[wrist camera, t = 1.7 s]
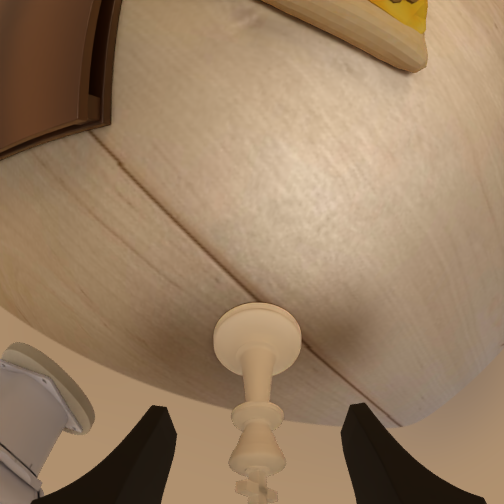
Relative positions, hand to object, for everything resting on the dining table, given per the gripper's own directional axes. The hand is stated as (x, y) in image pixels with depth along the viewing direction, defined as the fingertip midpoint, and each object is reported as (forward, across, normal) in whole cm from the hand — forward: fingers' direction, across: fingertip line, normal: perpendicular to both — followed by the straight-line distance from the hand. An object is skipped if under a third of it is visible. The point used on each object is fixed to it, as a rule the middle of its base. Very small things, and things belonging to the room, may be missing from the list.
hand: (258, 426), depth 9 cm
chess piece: (+6, 0, 0) cm, 6 cm away
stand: (+6, +13, -32) cm, 35 cm away
